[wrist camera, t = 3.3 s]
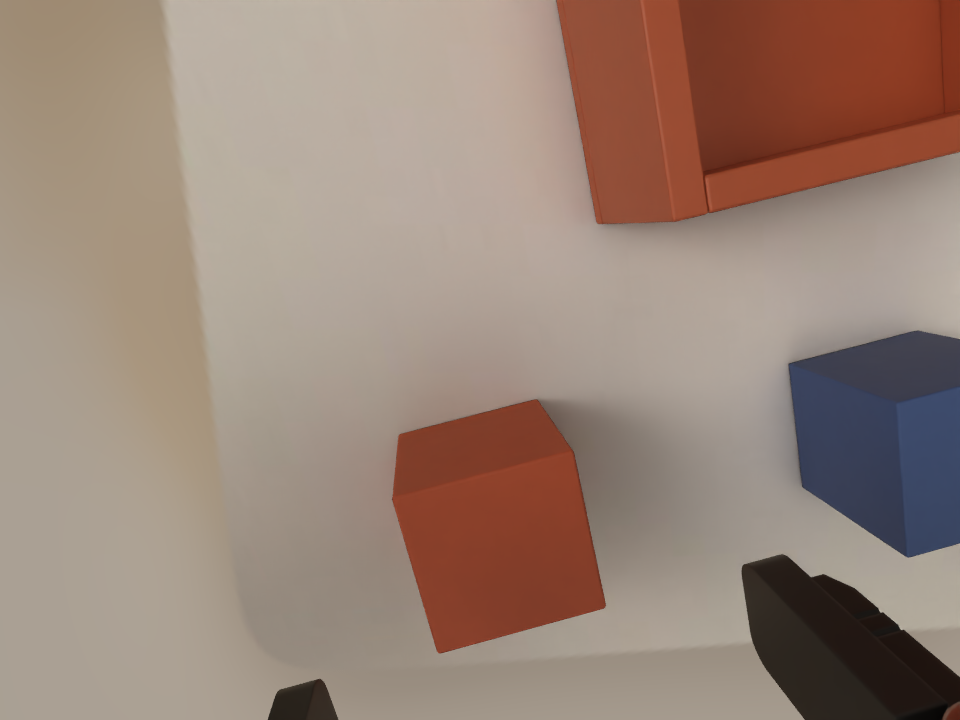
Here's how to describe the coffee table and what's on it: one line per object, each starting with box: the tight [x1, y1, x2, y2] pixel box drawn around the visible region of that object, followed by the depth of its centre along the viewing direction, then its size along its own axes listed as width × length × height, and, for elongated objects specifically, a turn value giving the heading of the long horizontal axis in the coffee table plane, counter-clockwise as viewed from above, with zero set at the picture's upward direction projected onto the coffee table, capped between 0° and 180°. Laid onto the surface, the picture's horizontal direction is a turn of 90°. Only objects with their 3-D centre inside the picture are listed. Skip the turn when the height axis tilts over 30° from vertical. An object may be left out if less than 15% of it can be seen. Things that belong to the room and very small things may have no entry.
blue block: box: [789, 331, 960, 557], centre depth 18 cm, size 5×5×5 cm
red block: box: [392, 399, 606, 653], centre depth 17 cm, size 5×5×5 cm
